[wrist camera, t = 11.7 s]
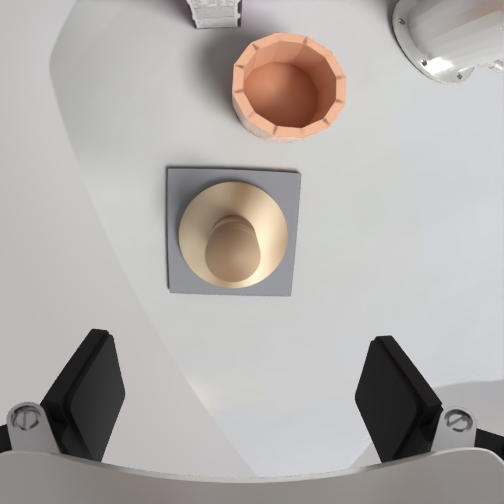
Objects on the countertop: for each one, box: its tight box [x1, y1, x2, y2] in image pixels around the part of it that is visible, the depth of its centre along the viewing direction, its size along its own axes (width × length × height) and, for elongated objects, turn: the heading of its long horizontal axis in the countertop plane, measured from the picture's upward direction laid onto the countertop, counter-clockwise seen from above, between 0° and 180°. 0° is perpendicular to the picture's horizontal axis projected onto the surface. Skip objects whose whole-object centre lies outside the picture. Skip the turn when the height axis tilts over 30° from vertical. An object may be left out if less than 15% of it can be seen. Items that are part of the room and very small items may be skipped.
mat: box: [168, 169, 301, 296], centre depth 32 cm, size 13×13×1 cm
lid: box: [179, 182, 288, 288], centre depth 28 cm, size 11×11×7 cm
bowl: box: [232, 32, 346, 142], centre depth 25 cm, size 9×9×7 cm
